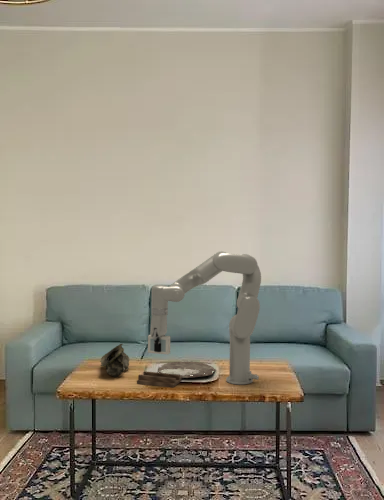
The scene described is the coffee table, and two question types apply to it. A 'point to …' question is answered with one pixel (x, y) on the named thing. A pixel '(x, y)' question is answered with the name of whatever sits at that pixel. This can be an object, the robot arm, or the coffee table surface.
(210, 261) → the robot arm
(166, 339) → the picture frame
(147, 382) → the picture ledge
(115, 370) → the hollow geode rock
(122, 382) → the coffee table surface
